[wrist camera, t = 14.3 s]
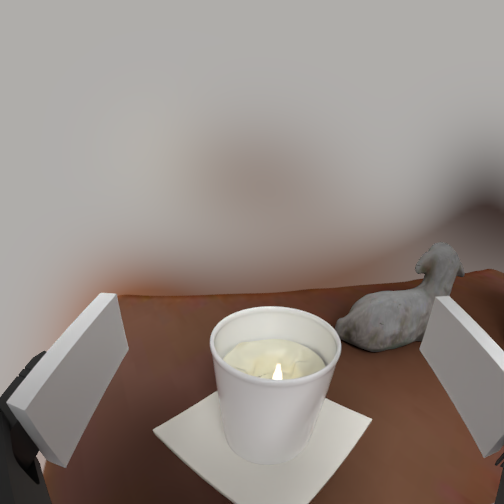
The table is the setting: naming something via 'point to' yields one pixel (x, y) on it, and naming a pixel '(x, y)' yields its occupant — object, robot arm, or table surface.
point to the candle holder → (272, 379)
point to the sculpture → (401, 305)
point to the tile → (256, 475)
